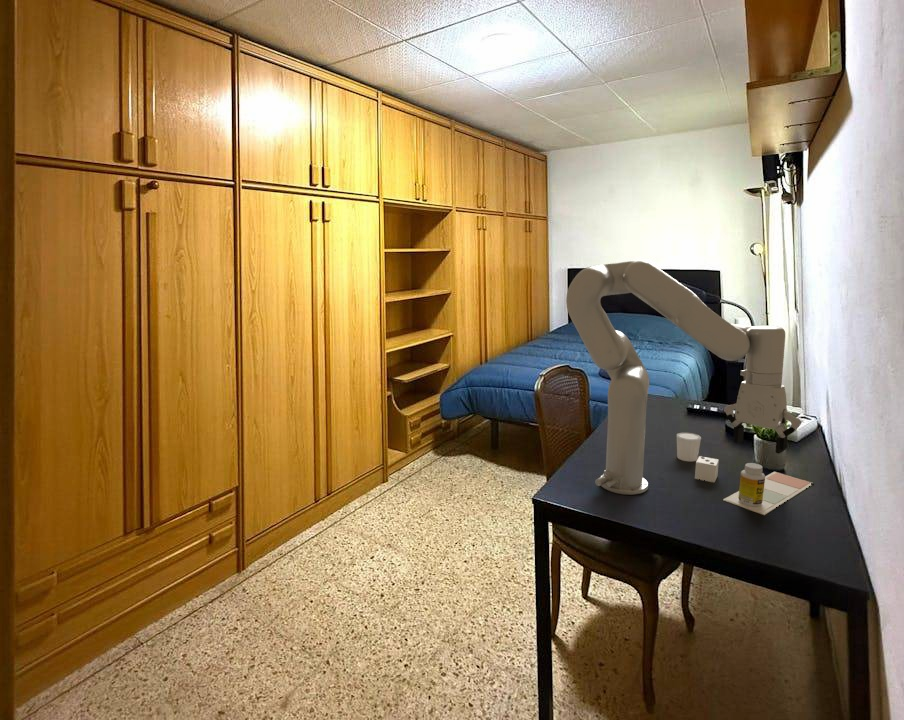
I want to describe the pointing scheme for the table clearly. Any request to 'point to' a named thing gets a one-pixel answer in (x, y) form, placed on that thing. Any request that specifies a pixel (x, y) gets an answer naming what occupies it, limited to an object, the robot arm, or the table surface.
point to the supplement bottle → (751, 485)
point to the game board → (773, 492)
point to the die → (706, 469)
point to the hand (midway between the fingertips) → (758, 446)
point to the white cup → (688, 446)
